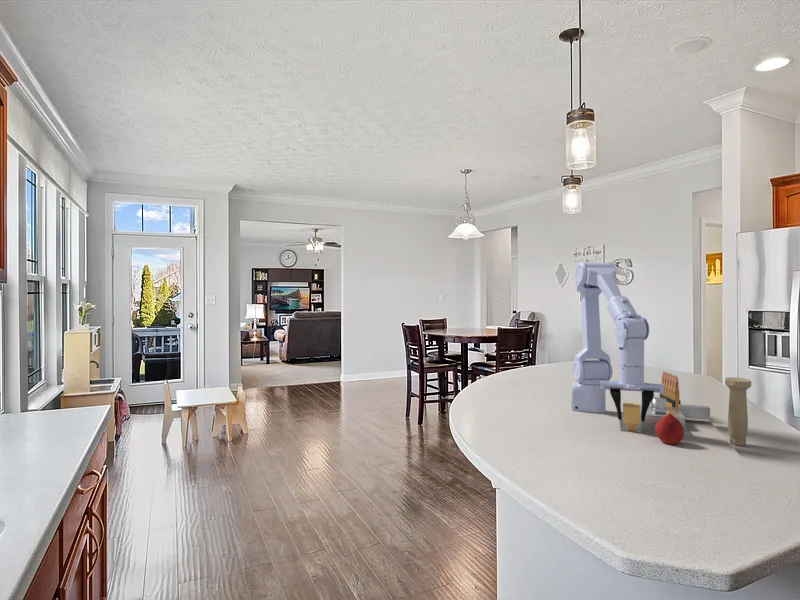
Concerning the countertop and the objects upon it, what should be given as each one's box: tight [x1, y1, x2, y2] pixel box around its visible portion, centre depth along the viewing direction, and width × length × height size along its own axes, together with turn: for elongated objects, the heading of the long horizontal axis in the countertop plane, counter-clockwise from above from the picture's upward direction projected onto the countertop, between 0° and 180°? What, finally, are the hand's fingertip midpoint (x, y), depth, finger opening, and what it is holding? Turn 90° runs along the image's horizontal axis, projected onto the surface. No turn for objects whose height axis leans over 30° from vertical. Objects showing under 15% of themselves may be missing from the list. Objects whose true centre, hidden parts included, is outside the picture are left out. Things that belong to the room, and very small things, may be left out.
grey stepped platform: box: [619, 396, 711, 438], centre depth 135 cm, size 22×21×6 cm
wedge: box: [622, 402, 640, 431], centre depth 131 cm, size 4×6×6 cm, turn 159°
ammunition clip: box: [659, 370, 682, 408], centre depth 152 cm, size 11×2×12 cm, turn 174°
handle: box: [724, 377, 752, 447], centre depth 121 cm, size 5×6×15 cm
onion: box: [655, 412, 685, 445], centre depth 119 cm, size 6×6×8 cm
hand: (631, 419), depth 131 cm, fingers open, 5 cm apart
